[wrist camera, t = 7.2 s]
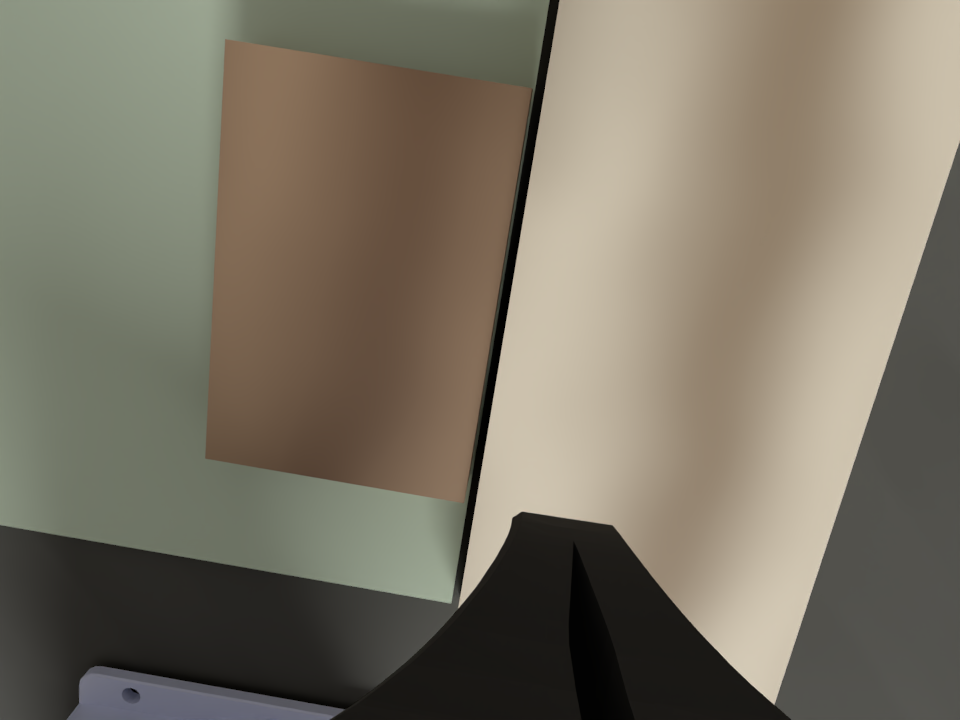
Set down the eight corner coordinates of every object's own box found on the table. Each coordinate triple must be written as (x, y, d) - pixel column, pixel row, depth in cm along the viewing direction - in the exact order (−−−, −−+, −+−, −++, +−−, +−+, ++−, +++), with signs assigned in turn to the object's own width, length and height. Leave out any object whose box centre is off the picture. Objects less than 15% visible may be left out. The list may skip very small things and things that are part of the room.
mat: (-39, 511, 21) (-47, 516, 21) (-82, -179, 16) (-93, -184, 16) (452, 596, 21) (451, 603, 21) (562, -80, 16) (563, -84, 16)
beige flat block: (459, 597, 21) (449, 661, 18) (572, -79, 16) (578, -112, 13) (743, 647, 21) (770, 717, 18) (947, -21, 16) (1020, -45, 13)
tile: (229, 433, 20) (204, 458, 18) (252, 44, 17) (225, 39, 15) (469, 474, 19) (464, 503, 18) (532, 90, 17) (532, 88, 15)
